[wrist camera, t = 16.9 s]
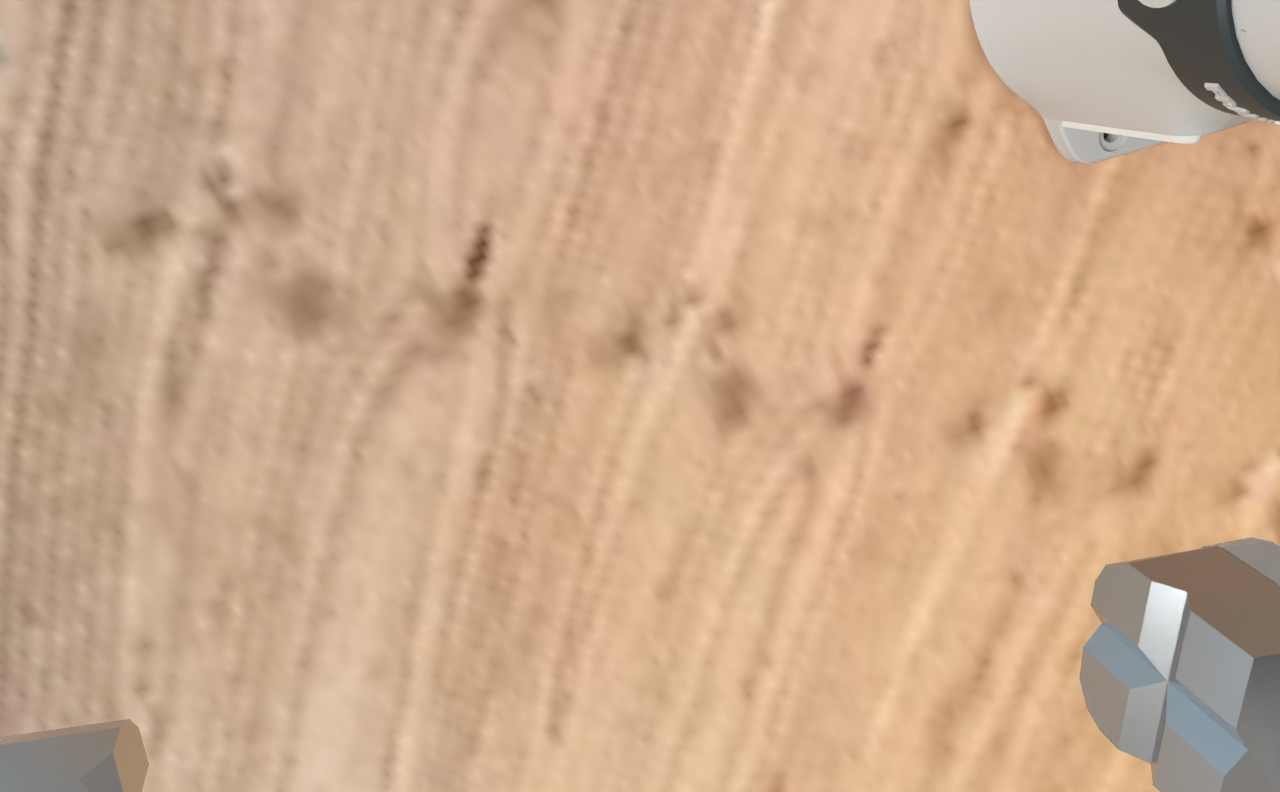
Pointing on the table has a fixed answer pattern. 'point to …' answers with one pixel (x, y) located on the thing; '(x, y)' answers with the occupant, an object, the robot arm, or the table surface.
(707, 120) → the table surface
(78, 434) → the table surface
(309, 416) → the table surface
